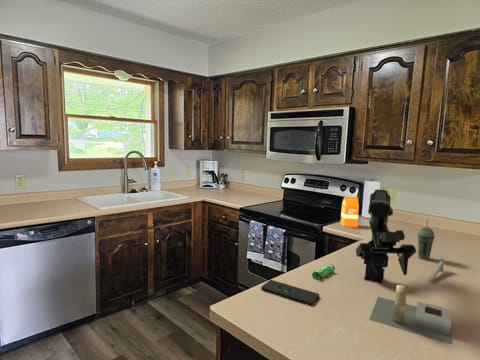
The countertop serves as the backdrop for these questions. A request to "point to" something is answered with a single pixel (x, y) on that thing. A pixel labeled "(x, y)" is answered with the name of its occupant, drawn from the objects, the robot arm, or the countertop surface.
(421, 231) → the beverage cup
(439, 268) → the caliper
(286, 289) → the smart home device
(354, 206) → the orange juice
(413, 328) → the mat
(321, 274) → the candy
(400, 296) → the pin
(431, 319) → the square peg hole block
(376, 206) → the robot arm
